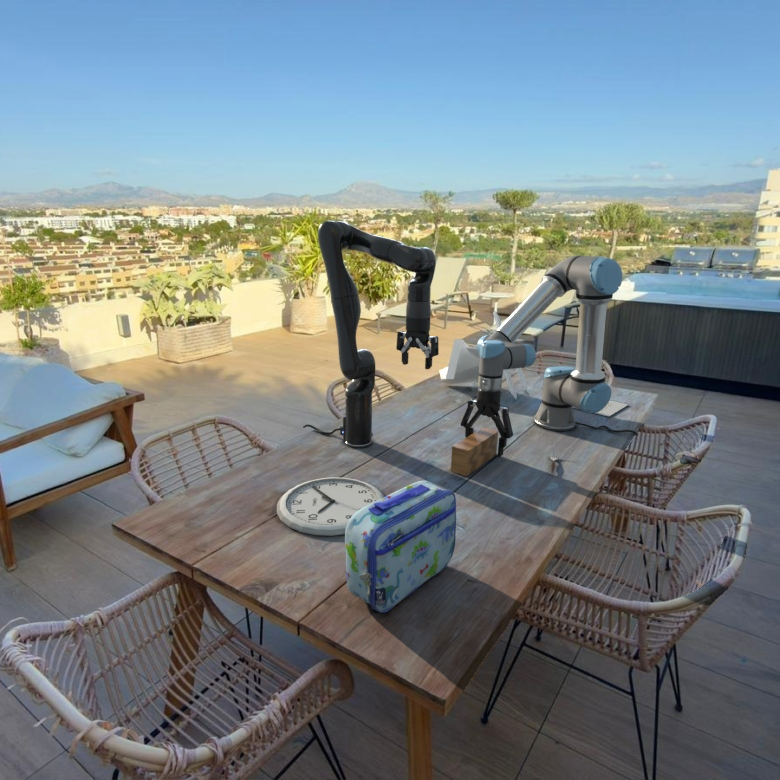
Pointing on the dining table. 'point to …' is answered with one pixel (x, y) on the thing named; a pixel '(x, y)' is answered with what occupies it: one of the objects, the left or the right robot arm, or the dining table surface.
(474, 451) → the box
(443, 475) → the dining table surface
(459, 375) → the white plastic object
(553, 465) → the fork
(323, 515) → the wall clock
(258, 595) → the dining table surface
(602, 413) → the invitation card
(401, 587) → the lunch box
